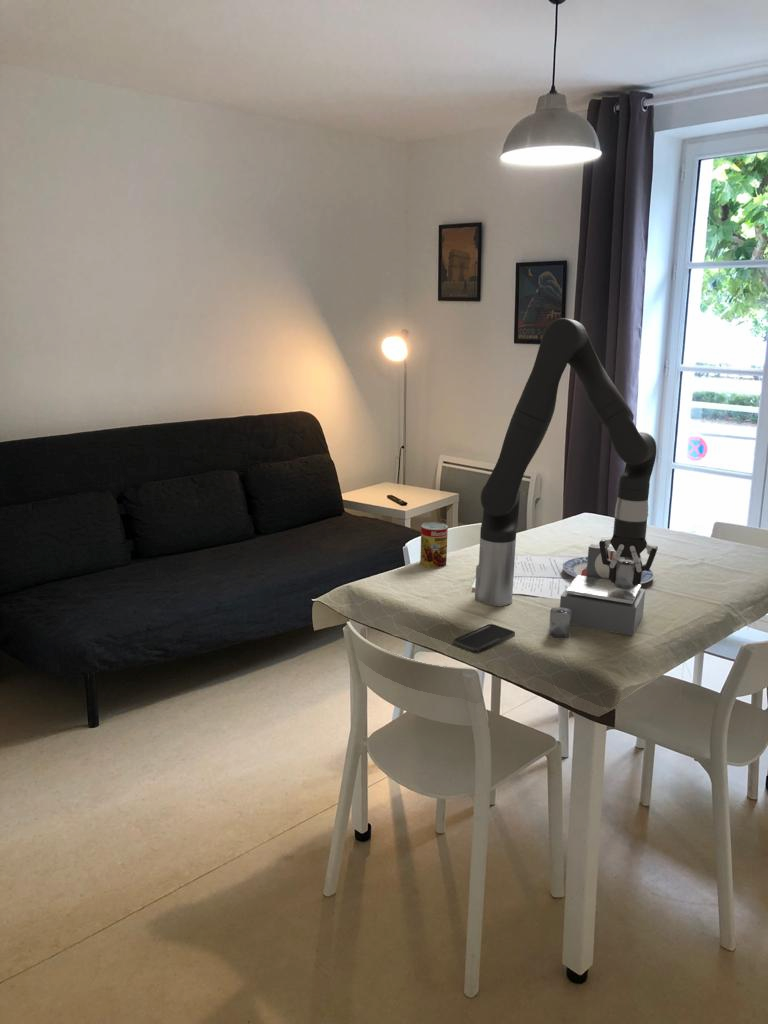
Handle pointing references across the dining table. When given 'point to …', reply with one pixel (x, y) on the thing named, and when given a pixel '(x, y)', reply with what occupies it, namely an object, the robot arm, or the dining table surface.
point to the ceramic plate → (580, 568)
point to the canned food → (433, 545)
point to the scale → (603, 602)
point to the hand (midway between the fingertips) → (624, 583)
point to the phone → (484, 638)
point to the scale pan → (602, 589)
